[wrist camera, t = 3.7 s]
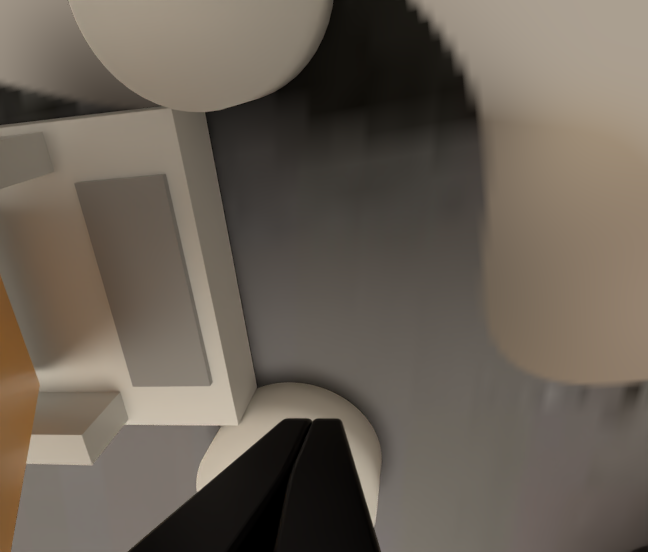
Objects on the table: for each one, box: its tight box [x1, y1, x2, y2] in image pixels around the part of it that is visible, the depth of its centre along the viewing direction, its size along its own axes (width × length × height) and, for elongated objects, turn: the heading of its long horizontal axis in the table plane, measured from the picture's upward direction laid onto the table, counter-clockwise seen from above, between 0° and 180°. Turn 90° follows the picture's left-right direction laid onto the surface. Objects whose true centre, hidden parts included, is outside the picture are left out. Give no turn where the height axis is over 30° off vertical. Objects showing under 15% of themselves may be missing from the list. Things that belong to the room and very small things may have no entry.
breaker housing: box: [0, 106, 257, 465], centre depth 15 cm, size 12×9×4 cm
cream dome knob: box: [196, 382, 382, 526], centre depth 17 cm, size 6×6×2 cm
